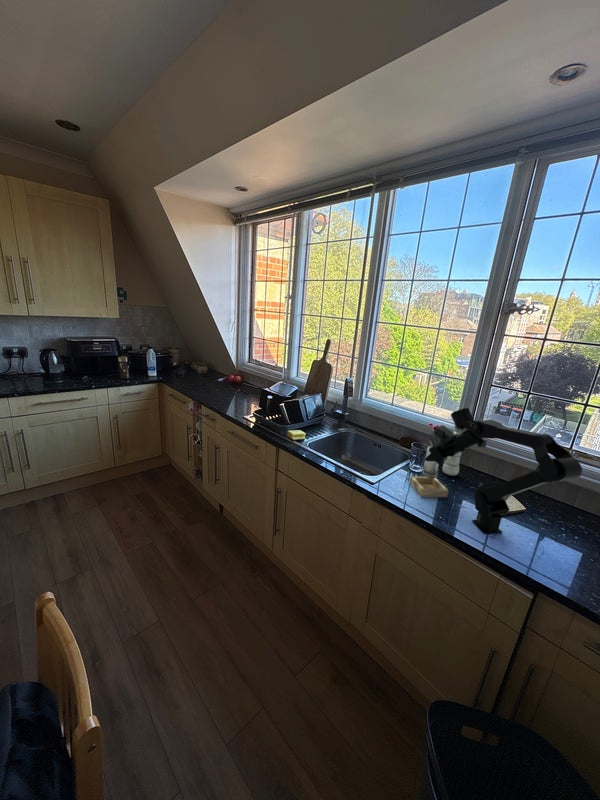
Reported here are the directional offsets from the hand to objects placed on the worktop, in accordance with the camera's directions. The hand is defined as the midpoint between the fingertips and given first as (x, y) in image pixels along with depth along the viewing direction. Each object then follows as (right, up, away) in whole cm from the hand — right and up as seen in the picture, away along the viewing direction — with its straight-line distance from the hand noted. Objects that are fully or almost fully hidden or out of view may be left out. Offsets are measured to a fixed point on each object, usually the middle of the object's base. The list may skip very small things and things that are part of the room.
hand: (429, 458), depth 125 cm
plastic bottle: (+16, -10, +17) cm, 26 cm away
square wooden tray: (+1, -13, +3) cm, 13 cm away
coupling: (0, -7, +1) cm, 7 cm away
